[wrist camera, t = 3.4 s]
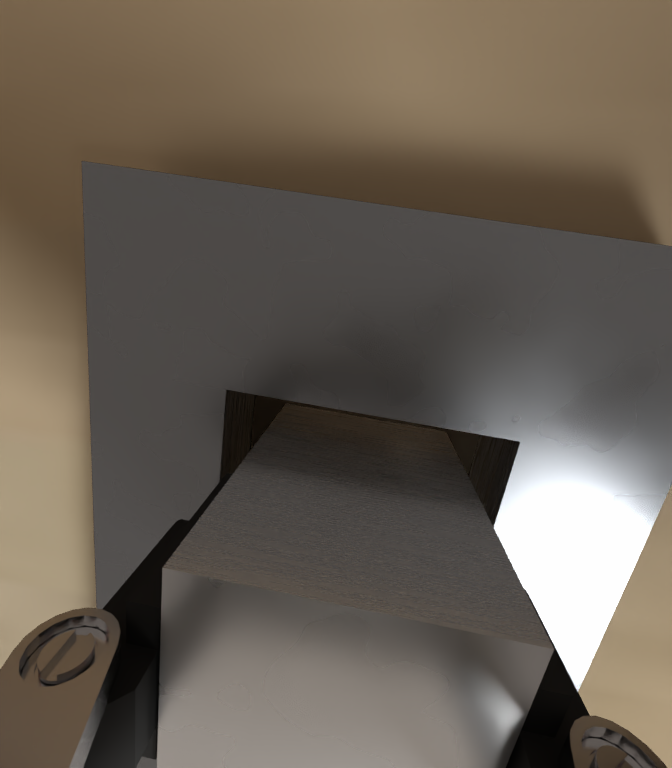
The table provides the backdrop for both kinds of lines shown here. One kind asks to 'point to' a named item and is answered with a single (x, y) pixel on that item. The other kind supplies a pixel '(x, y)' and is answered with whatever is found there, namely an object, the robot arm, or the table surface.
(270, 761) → the grey rectangular block
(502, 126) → the table surface
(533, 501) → the grey copper flat plate
